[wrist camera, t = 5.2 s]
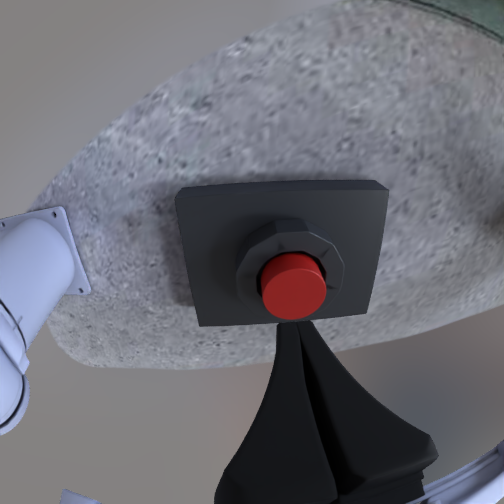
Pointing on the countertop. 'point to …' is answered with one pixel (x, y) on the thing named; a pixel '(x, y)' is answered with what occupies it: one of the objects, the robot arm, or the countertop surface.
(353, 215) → the control box
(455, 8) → the countertop surface
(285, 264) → the power button
